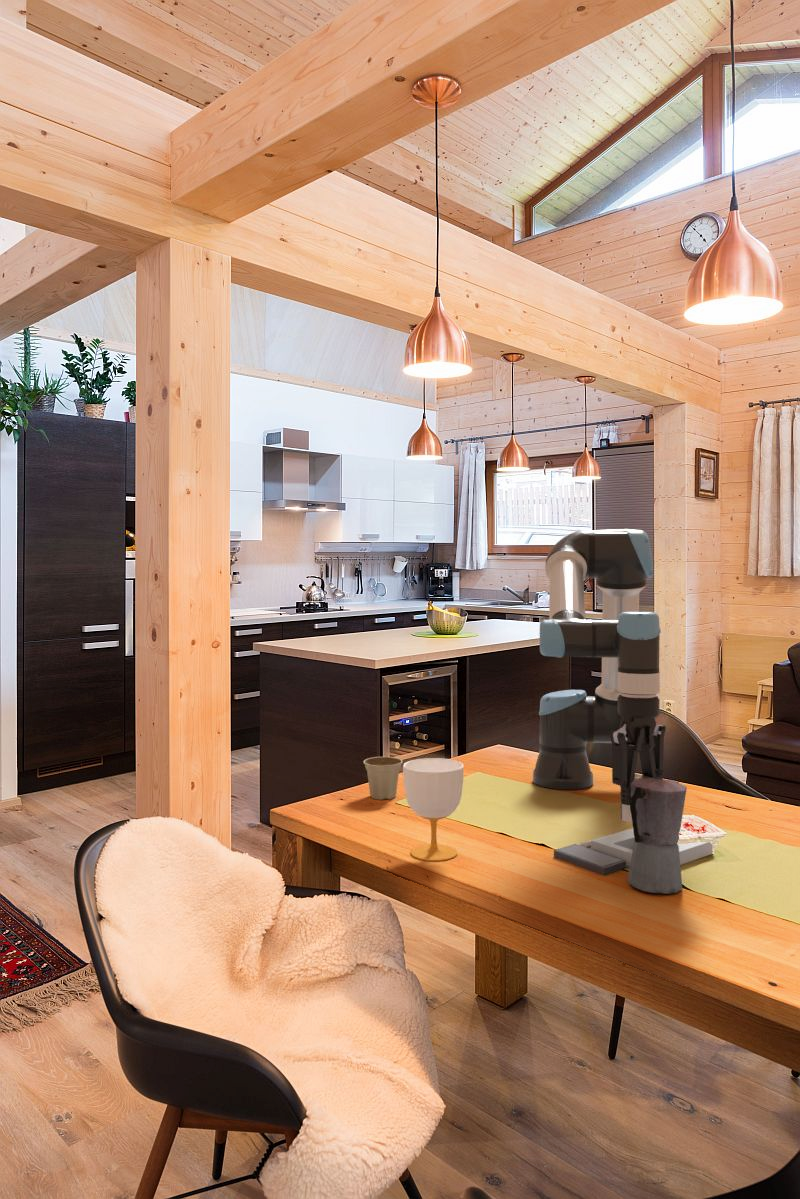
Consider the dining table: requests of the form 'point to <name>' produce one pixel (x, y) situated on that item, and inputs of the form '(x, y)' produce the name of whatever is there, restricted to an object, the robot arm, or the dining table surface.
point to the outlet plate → (624, 842)
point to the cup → (433, 798)
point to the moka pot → (656, 834)
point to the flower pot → (383, 776)
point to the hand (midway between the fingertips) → (638, 818)
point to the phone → (590, 859)
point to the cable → (586, 843)
